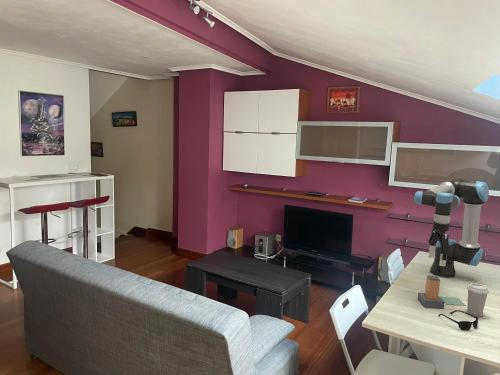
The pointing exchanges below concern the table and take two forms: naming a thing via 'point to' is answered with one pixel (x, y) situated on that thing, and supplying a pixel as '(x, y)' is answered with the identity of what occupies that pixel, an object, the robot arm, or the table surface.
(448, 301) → the pad
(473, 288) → the coffee cup
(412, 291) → the table surface
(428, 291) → the plug
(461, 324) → the sunglasses
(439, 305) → the grey square frame
